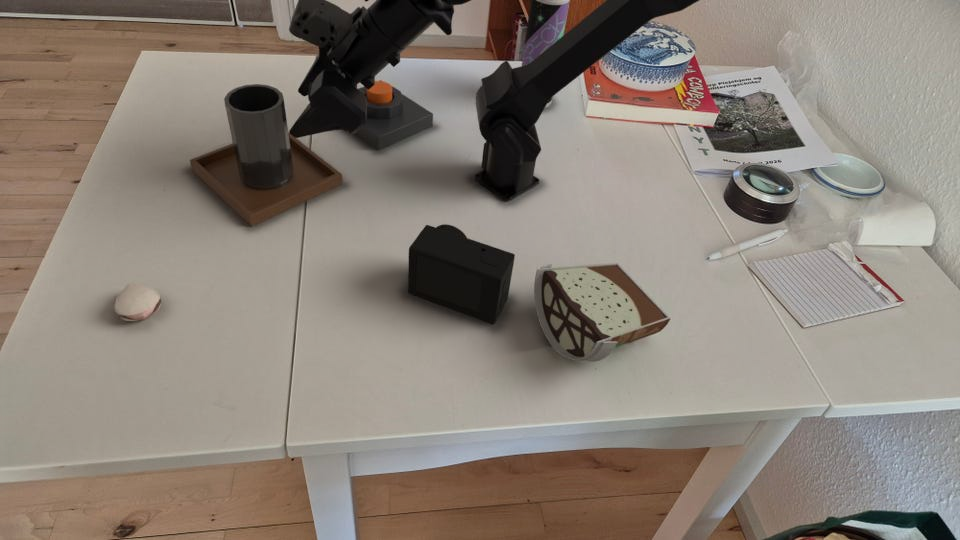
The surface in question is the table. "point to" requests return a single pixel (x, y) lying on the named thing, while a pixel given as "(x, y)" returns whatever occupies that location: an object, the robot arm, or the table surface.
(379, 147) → the push button switch
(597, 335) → the food container
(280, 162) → the cup
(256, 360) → the table surface
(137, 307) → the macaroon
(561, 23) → the spray can
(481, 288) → the digital camera
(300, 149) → the tray
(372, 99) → the timer button
